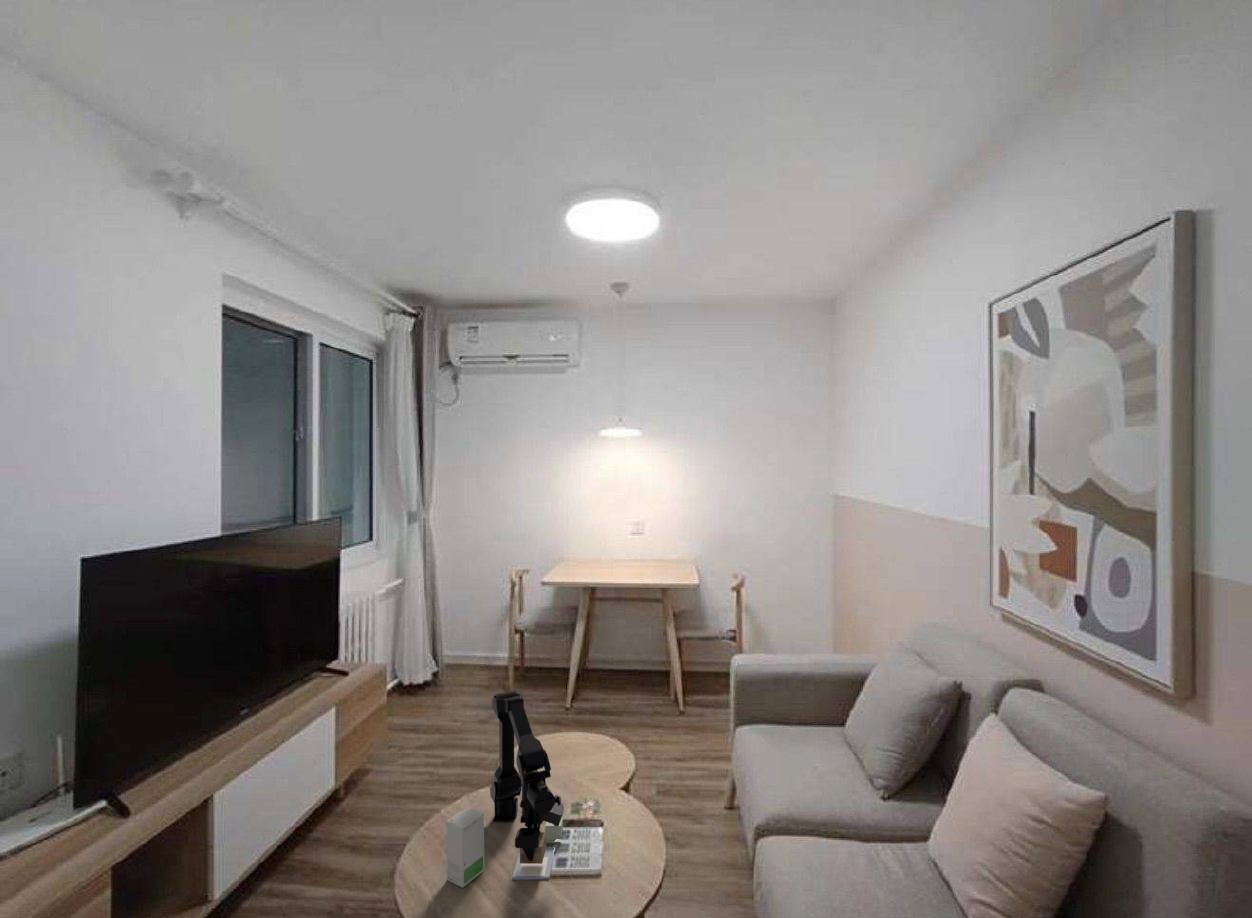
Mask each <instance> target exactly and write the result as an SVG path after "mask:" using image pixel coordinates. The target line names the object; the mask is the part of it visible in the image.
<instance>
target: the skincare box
mask: <svg viewBox="0 0 1252 918" xmlns="http://www.w3.org/2000/svg"><path fill="white" fill-rule="evenodd" d="M484 818H485V816H484V812H483V811H480V810H478V809H475V808H472V807H470V806H468V807H466V808H464V809H462V810H461V811H459V812H457V813H455V814H454V815H453V816H452V817H450V818H448V819H447V820H446V822H445V824H446V880H447V881H448V882H450V883H452V884H453V885H456V886H458V887H460V888H464V887H466V886H467V885H468V884H469V883H471V882H472V881H473V880H474V879H475V878H477V877H478V876H479V875H481V874H482V873H483V872H484V871H485V824H484V823H485V819H484Z"/></svg>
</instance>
